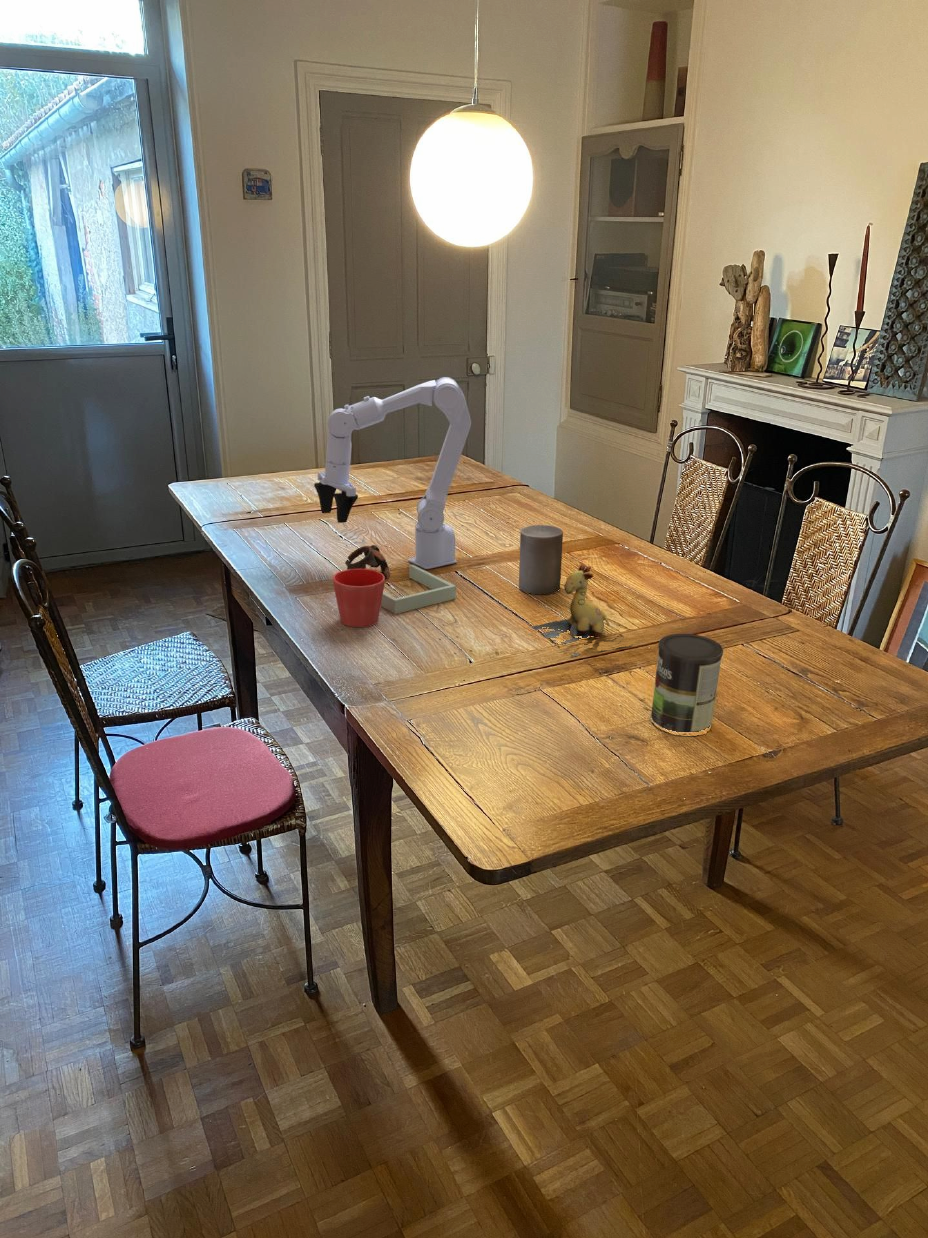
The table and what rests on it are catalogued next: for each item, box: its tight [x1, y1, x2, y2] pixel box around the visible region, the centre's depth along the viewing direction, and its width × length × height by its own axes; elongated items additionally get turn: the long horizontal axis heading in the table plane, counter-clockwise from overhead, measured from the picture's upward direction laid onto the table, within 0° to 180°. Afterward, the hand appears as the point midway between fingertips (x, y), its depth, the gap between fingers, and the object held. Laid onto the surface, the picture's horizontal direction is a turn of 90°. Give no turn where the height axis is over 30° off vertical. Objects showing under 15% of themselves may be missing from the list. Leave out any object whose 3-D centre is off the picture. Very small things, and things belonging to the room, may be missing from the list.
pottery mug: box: [344, 544, 391, 580], centre depth 221 cm, size 12×10×8 cm
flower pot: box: [332, 568, 386, 628], centre depth 194 cm, size 11×11×10 cm
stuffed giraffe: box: [532, 563, 610, 658], centre depth 189 cm, size 16×18×16 cm
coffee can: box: [650, 633, 724, 732], centre depth 156 cm, size 10×10×14 cm
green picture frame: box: [381, 564, 457, 615], centre depth 210 cm, size 16×17×3 cm
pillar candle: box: [518, 524, 564, 596], centre depth 213 cm, size 10×10×15 cm
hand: (333, 517), depth 225 cm, fingers open, 7 cm apart
